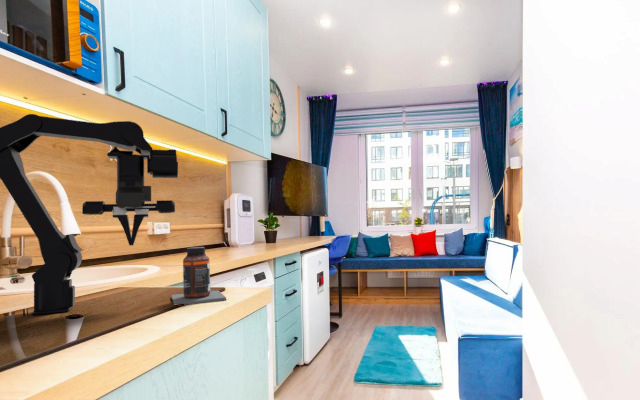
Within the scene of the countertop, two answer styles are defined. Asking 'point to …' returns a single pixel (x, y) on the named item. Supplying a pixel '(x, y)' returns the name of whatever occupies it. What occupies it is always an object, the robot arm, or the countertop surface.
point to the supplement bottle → (196, 273)
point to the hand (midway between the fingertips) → (131, 245)
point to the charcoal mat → (210, 298)
